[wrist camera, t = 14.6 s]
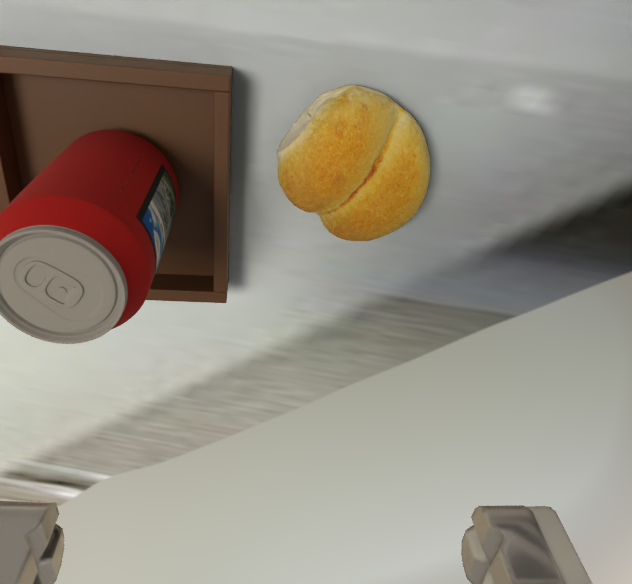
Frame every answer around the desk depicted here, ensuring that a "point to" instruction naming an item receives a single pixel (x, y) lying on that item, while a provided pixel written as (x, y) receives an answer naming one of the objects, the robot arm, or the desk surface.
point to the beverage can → (86, 238)
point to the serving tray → (139, 119)
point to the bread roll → (355, 163)
